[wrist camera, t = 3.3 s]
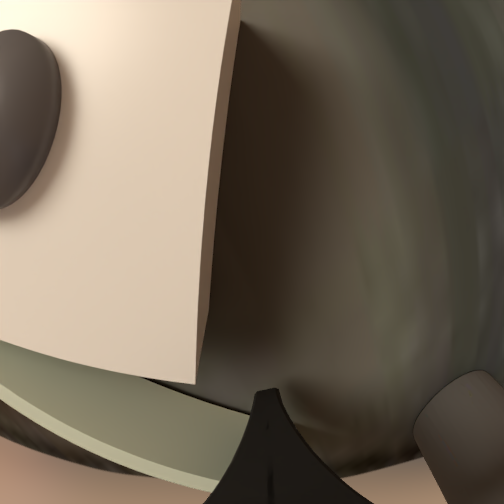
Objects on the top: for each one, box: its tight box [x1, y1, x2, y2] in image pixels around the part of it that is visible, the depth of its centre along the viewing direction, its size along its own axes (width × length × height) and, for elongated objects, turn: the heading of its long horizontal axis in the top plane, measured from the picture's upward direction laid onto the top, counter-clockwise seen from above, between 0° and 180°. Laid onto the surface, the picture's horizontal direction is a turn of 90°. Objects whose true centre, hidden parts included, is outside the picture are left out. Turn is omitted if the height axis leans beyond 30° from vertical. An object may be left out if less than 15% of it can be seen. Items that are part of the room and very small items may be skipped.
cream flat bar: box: [0, 340, 297, 493], centre depth 9 cm, size 17×1×4 cm, turn 65°
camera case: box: [0, 0, 241, 384], centre depth 7 cm, size 11×10×5 cm
